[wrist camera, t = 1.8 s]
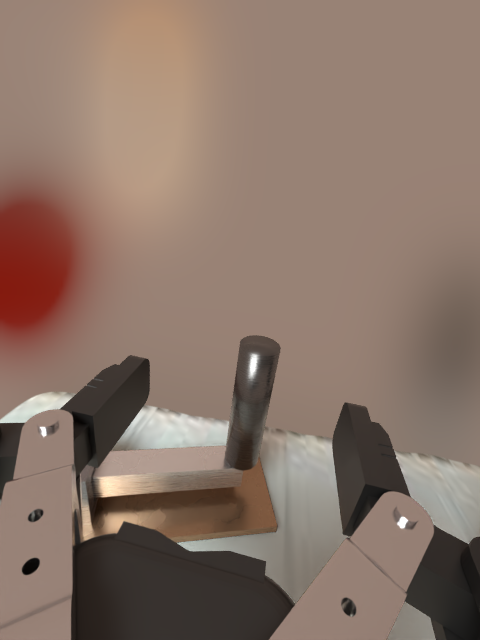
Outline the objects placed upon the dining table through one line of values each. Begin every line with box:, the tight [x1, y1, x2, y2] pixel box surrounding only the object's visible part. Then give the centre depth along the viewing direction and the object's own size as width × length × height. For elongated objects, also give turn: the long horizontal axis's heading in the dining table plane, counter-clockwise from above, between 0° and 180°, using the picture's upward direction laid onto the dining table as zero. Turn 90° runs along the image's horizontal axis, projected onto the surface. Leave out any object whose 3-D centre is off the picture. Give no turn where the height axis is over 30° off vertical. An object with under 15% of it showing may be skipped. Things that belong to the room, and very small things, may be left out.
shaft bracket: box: [0, 457, 277, 543], centre depth 27 cm, size 28×9×6 cm, turn 99°
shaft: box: [91, 336, 280, 498], centre depth 26 cm, size 17×3×15 cm, turn 99°
